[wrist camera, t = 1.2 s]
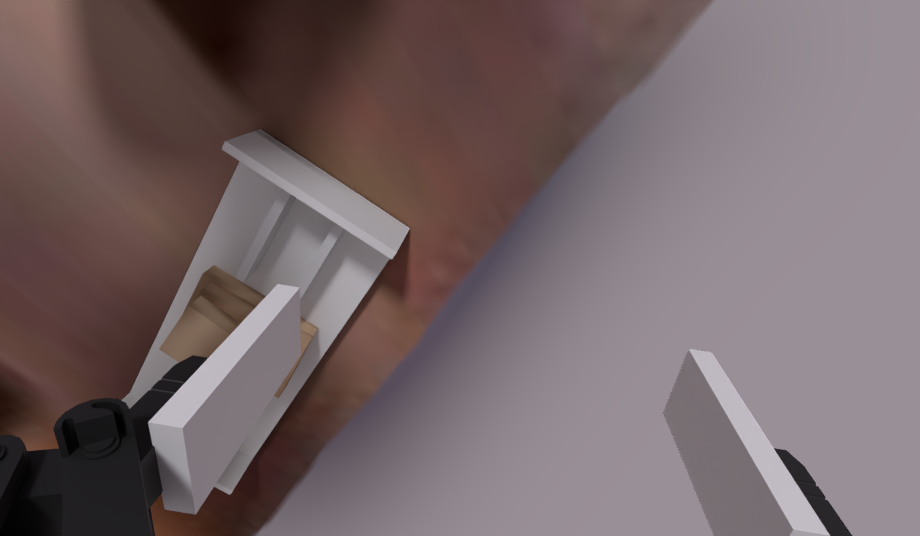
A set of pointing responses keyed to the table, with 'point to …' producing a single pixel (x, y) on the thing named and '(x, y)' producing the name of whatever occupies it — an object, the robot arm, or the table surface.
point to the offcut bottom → (237, 291)
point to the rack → (284, 260)
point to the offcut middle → (240, 311)
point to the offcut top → (199, 331)
